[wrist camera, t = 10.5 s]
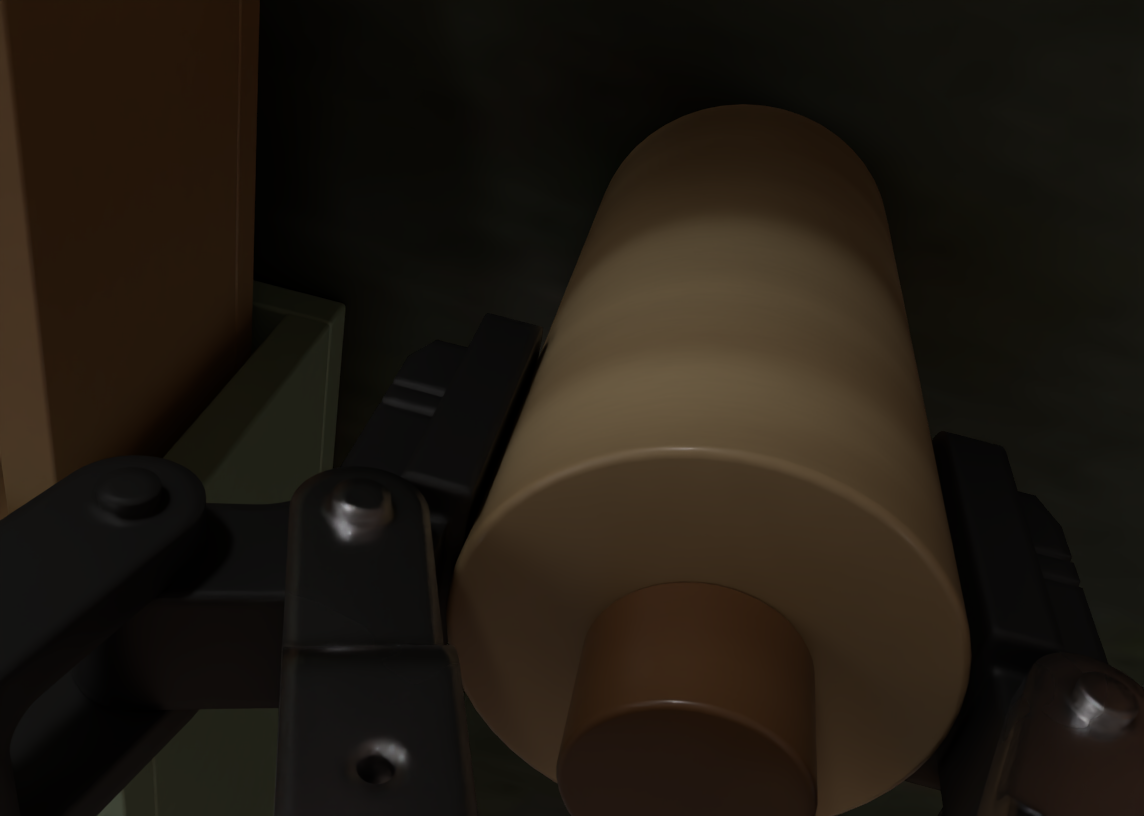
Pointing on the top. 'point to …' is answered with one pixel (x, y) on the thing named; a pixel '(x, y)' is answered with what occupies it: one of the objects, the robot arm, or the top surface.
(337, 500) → the robot arm
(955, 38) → the top surface
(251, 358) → the cabinet
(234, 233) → the drawer
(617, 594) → the roller
